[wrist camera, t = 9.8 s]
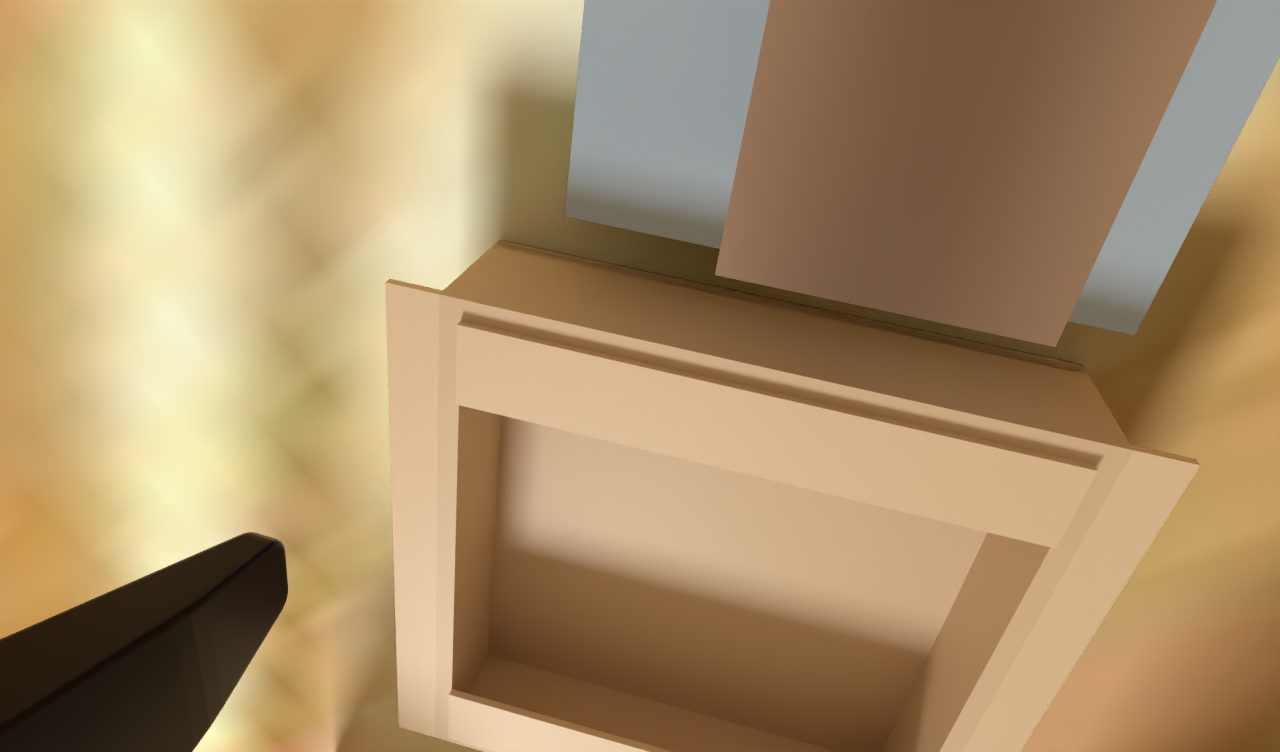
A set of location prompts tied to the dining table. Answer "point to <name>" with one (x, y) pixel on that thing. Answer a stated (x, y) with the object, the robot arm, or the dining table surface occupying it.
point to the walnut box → (949, 151)
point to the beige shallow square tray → (739, 519)
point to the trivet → (719, 100)
